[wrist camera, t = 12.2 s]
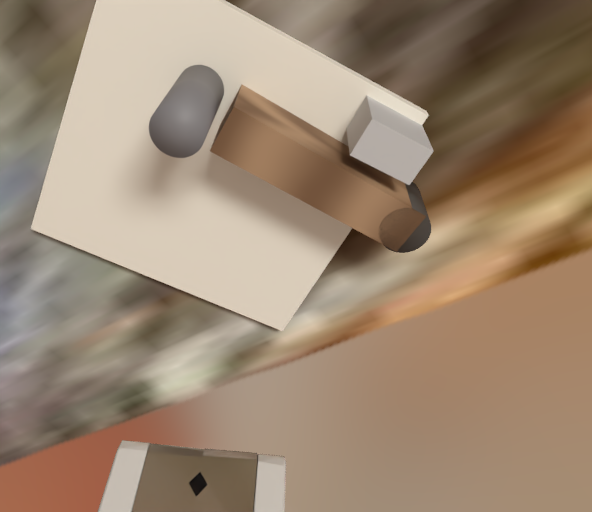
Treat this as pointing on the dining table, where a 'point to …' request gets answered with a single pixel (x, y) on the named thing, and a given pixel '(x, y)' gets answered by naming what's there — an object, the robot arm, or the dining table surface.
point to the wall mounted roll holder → (207, 152)
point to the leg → (320, 172)
